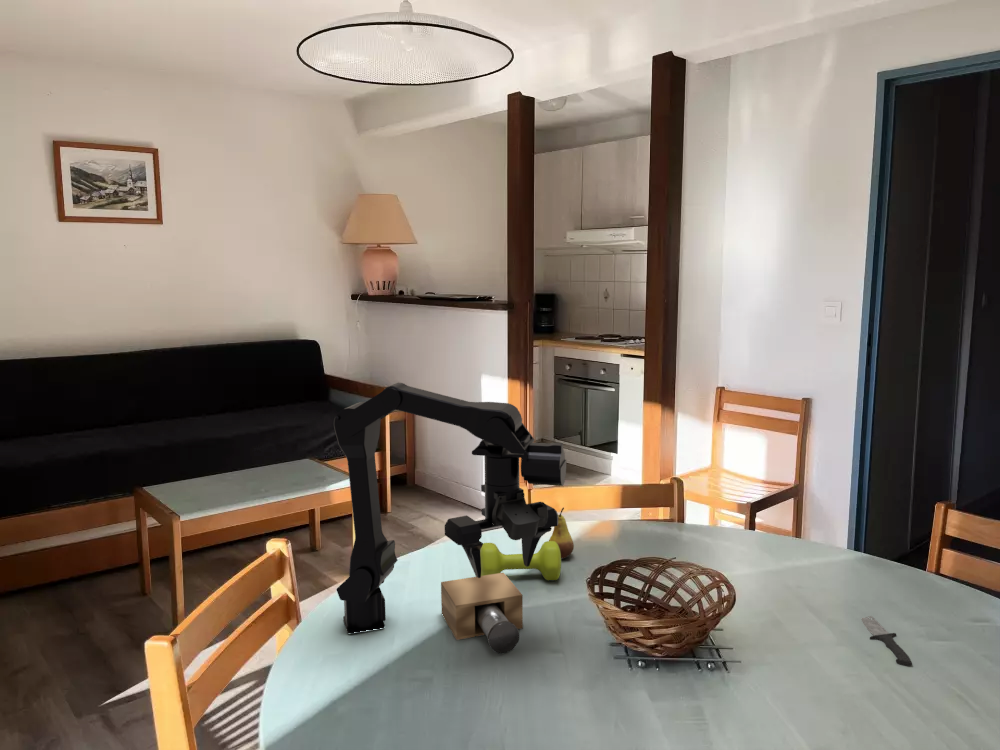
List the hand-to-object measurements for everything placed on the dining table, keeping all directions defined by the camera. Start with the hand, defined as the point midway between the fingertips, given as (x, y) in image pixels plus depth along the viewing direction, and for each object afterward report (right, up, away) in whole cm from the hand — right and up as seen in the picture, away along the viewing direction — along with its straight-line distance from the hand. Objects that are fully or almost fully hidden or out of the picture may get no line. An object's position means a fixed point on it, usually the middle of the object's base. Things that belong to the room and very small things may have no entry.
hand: (502, 571), depth 128 cm
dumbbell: (+4, -9, +27) cm, 29 cm away
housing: (-4, -11, +9) cm, 15 cm away
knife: (+65, -12, +4) cm, 66 cm away
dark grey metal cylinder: (-2, -12, +4) cm, 13 cm away
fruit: (+13, -7, +37) cm, 40 cm away
